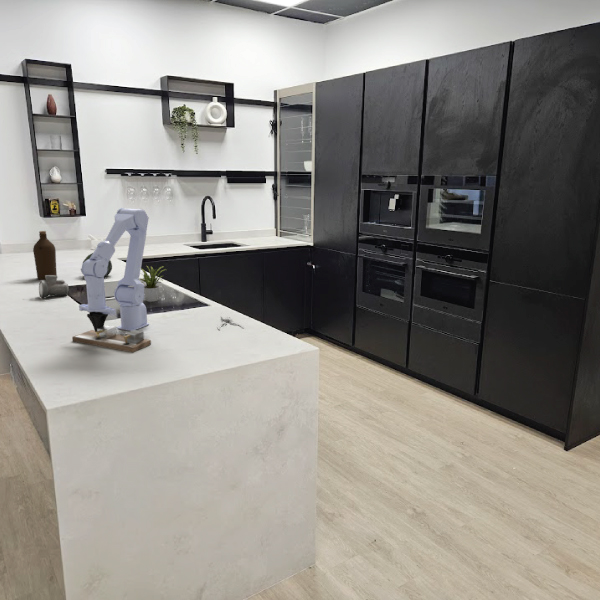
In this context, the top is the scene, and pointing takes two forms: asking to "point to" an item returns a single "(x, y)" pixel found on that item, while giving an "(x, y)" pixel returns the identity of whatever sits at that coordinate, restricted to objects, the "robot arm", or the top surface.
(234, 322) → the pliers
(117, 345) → the gauge board
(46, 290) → the pipe fitting
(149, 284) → the house plant
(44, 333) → the top surface
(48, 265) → the olive oil
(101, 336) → the block
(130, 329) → the robot arm
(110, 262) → the squash
